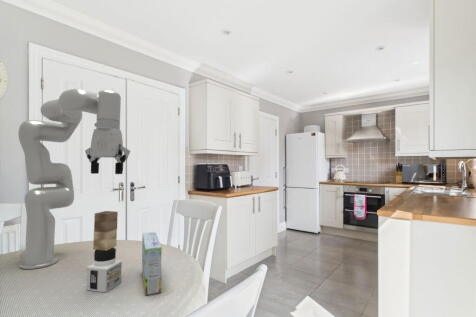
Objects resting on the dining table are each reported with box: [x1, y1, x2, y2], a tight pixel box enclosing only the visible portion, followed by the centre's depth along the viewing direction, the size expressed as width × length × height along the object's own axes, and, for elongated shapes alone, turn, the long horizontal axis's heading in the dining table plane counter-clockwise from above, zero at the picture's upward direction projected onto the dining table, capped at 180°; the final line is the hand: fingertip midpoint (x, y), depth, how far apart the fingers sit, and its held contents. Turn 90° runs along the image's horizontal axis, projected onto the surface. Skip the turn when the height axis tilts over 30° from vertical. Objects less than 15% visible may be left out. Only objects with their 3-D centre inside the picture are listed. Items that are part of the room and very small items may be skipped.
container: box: [85, 246, 123, 293], centre depth 87 cm, size 8×8×13 cm
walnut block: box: [93, 210, 119, 232], centre depth 87 cm, size 5×5×6 cm
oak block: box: [92, 228, 118, 251], centre depth 87 cm, size 5×5×6 cm
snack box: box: [141, 231, 163, 297], centre depth 91 cm, size 21×6×15 cm, turn 23°
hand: (106, 173), depth 90 cm, fingers open, 9 cm apart
